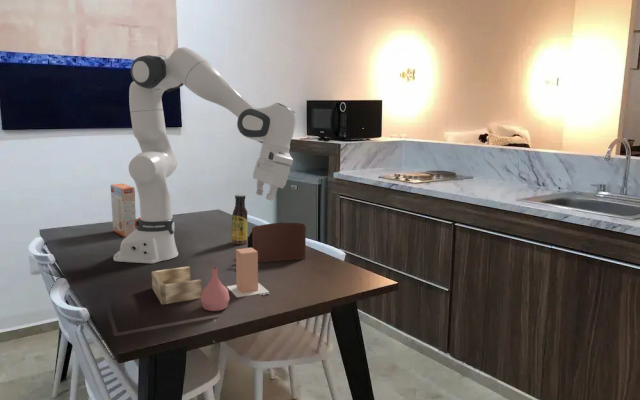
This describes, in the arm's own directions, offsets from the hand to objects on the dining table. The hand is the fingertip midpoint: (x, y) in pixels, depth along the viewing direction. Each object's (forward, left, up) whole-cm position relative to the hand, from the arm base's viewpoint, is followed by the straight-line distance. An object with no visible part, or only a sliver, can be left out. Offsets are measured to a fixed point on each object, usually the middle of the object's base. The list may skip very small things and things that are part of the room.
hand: (264, 197), depth 163 cm
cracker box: (-63, +56, -27) cm, 89 cm away
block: (-4, -14, -26) cm, 30 cm away
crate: (-24, -17, -26) cm, 40 cm away
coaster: (-4, -15, -26) cm, 30 cm away
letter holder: (+3, +21, -27) cm, 34 cm away
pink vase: (-12, -29, -27) cm, 41 cm away
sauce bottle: (-12, +40, -27) cm, 50 cm away
